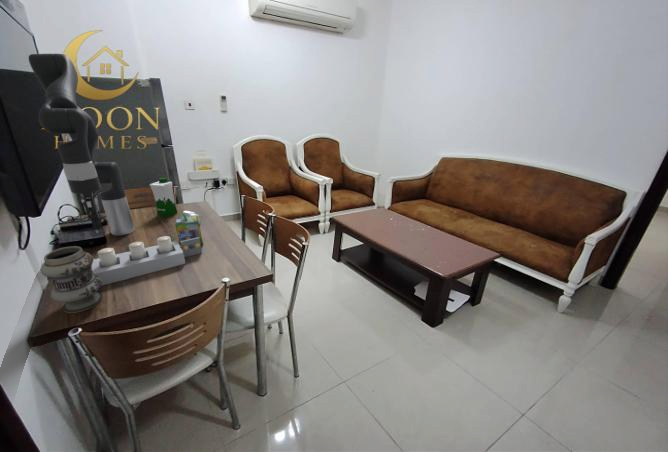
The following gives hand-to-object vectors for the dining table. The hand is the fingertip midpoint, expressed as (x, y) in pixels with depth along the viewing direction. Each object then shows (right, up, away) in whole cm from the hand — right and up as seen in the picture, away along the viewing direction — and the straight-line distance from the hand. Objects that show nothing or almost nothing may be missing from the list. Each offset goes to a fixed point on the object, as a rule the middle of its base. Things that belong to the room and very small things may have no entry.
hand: (98, 225), depth 98 cm
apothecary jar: (+1, -25, -7) cm, 26 cm away
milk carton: (-13, +6, +63) cm, 65 cm away
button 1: (-1, -14, +6) cm, 15 cm away
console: (+7, -16, +13) cm, 21 cm away
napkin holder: (+5, +1, +54) cm, 54 cm away
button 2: (+7, -12, +11) cm, 17 cm away
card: (+21, -12, +22) cm, 33 cm away
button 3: (+14, -10, +16) cm, 23 cm away
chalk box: (+16, -8, +33) cm, 37 cm away
